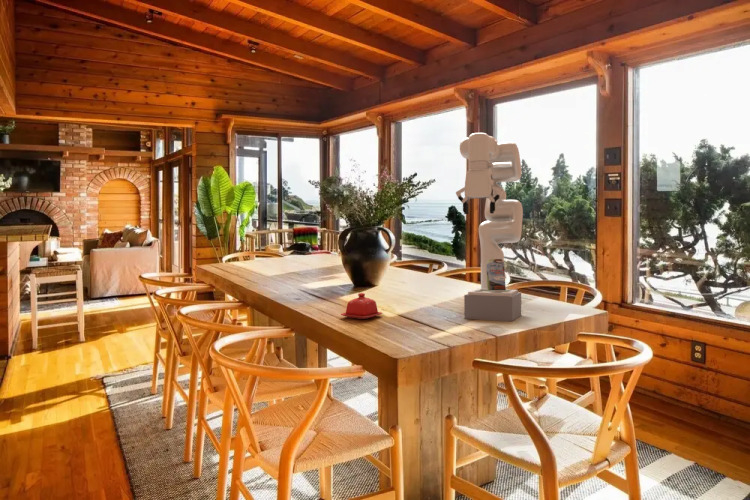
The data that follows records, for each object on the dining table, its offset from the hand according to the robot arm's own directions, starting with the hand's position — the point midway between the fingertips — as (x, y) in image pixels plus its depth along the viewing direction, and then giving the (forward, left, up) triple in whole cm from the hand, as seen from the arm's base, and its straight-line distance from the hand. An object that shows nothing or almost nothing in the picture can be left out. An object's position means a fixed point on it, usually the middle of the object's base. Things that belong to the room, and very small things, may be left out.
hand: (478, 213), depth 203 cm
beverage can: (+12, +9, -28) cm, 32 cm away
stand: (+12, +8, -36) cm, 39 cm away
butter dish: (+28, -35, -37) cm, 58 cm away
